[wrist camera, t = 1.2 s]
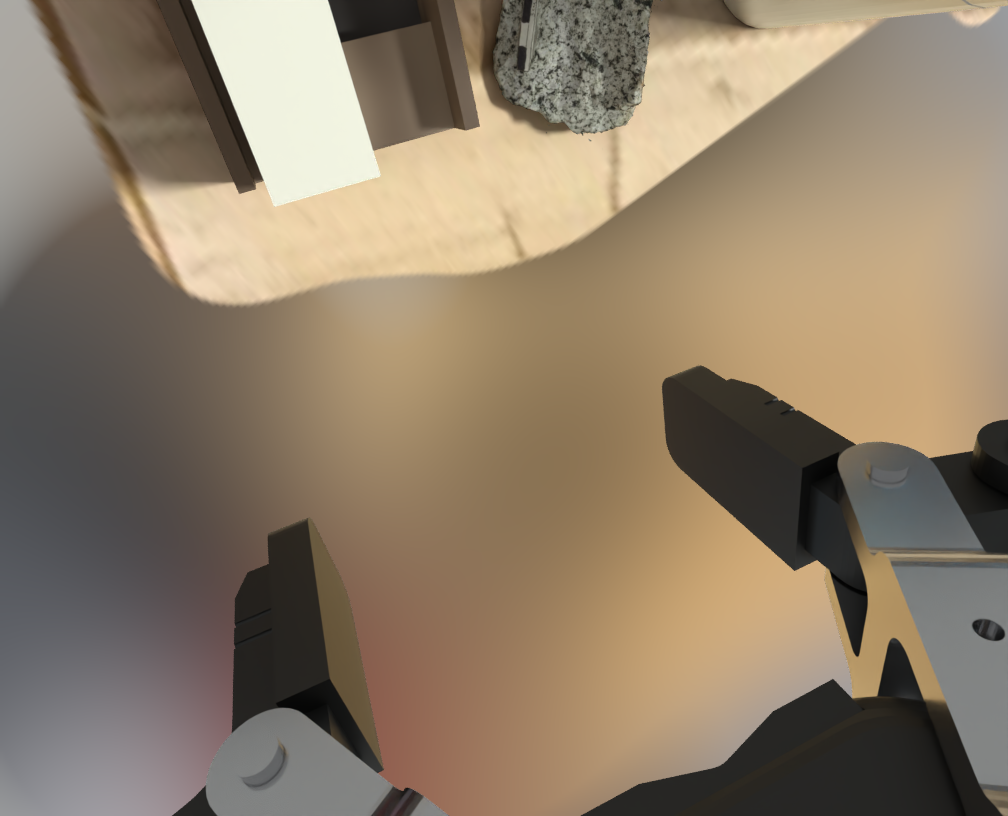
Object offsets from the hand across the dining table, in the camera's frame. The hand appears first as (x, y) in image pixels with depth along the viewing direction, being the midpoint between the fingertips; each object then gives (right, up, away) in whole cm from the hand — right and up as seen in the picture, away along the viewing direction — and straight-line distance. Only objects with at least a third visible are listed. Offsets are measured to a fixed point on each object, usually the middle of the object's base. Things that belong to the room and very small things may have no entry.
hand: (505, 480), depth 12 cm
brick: (-11, +18, +17) cm, 27 cm away
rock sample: (+3, +22, +24) cm, 33 cm away
